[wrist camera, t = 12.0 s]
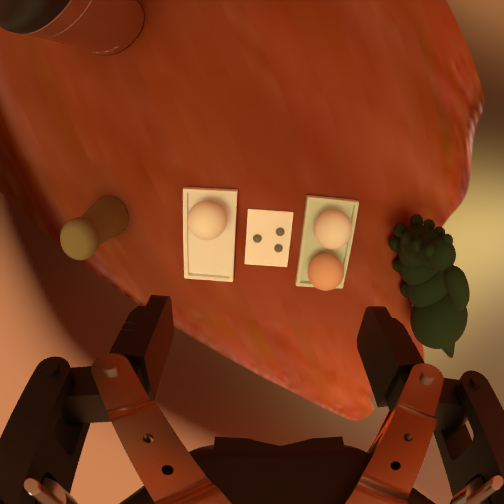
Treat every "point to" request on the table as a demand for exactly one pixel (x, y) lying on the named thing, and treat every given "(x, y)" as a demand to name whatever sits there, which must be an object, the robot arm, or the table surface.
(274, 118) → the table surface
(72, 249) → the olive green waisted cylinder
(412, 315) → the toy figurine
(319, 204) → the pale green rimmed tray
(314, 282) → the ball
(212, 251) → the egg tray
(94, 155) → the table surface
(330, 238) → the ball
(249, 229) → the card
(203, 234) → the ball
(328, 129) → the table surface
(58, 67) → the table surface
